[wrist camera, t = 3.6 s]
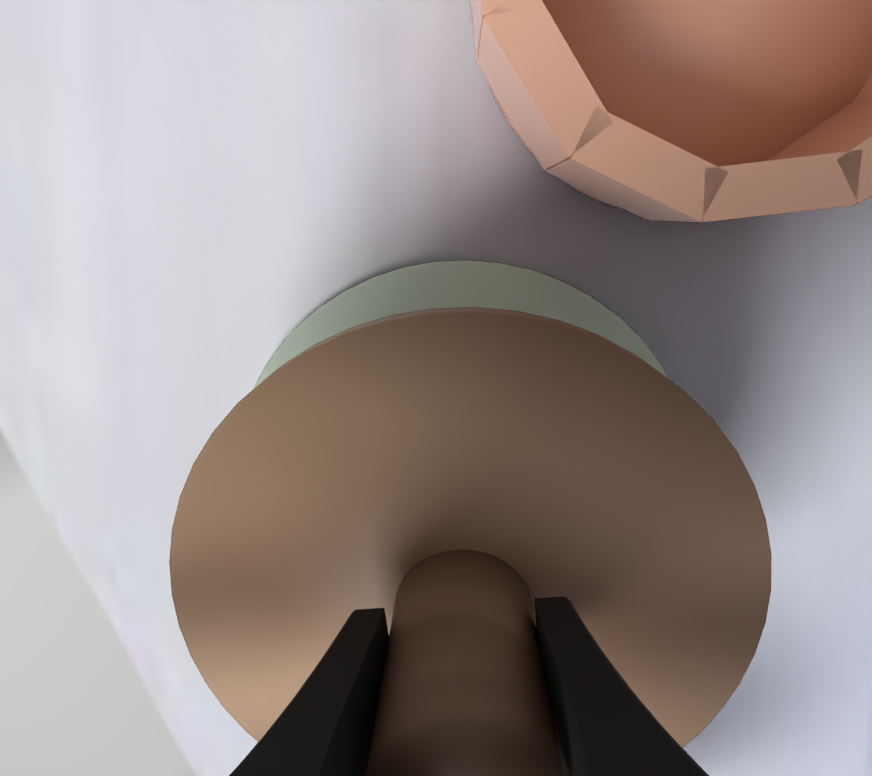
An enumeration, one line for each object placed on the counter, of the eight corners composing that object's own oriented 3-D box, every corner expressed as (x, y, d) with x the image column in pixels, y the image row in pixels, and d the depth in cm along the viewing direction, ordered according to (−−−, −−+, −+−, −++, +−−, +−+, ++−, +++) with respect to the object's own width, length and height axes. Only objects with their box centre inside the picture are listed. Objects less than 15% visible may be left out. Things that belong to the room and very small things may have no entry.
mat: (680, 648, 19) (684, 657, 18) (288, 671, 20) (284, 680, 19) (693, 233, 15) (699, 233, 14) (194, 288, 16) (188, 289, 15)
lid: (735, 777, 14) (867, 1048, 10) (252, 795, 15) (161, 1049, 10) (774, 273, 10) (1030, 320, 6) (118, 340, 11) (-119, 427, 7)
